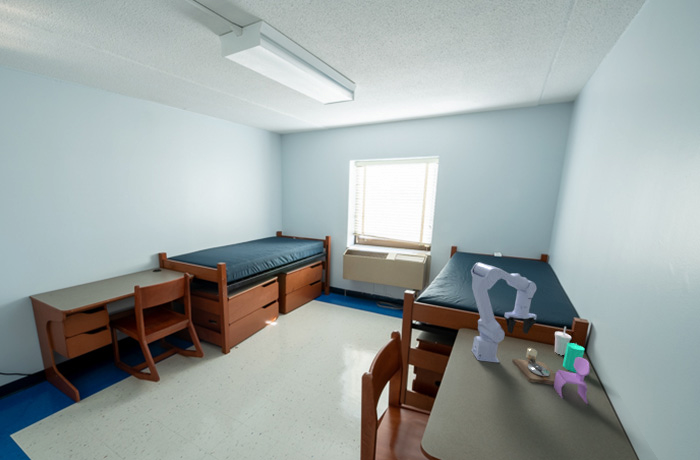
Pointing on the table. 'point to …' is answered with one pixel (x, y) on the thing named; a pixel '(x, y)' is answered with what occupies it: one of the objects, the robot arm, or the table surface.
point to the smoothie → (561, 342)
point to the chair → (574, 377)
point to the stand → (532, 377)
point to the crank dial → (535, 364)
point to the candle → (572, 356)
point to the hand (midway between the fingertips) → (517, 332)
